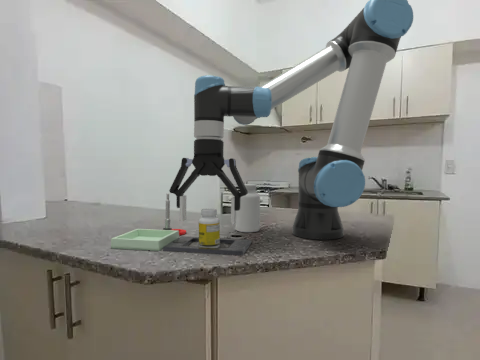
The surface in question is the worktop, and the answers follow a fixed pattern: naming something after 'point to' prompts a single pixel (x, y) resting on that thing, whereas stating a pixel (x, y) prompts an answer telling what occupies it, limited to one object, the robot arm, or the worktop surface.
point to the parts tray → (144, 239)
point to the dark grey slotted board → (235, 249)
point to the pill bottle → (249, 211)
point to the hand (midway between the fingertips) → (207, 222)
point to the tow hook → (167, 220)
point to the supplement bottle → (209, 229)
